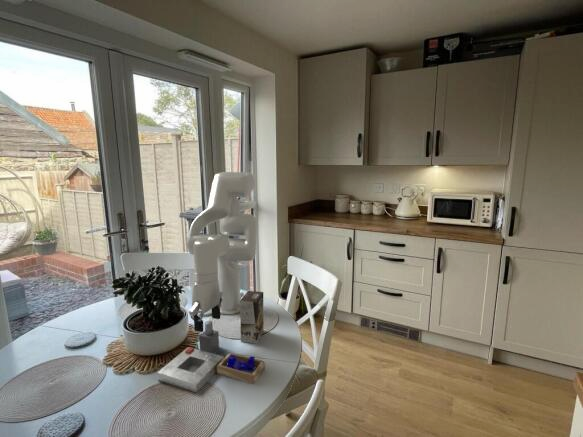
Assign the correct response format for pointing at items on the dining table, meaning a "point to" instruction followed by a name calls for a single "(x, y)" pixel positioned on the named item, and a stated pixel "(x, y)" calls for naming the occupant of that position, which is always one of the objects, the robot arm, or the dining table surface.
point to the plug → (209, 338)
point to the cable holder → (241, 364)
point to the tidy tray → (237, 373)
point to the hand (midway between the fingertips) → (207, 324)
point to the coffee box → (251, 316)
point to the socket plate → (190, 369)
